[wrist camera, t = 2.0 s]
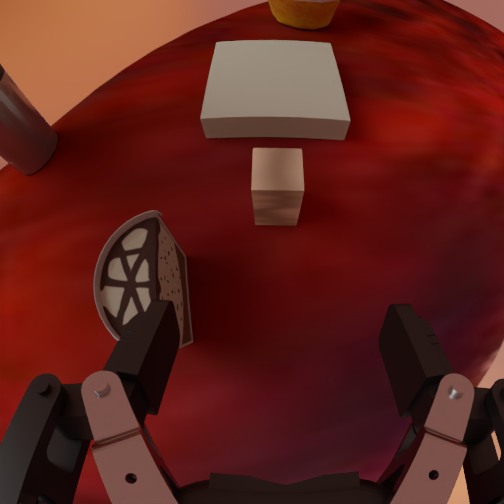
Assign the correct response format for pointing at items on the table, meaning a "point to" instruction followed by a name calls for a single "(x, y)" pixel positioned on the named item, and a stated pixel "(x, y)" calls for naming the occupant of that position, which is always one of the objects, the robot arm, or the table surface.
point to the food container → (141, 275)
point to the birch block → (277, 185)
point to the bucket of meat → (304, 12)
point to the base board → (274, 91)
